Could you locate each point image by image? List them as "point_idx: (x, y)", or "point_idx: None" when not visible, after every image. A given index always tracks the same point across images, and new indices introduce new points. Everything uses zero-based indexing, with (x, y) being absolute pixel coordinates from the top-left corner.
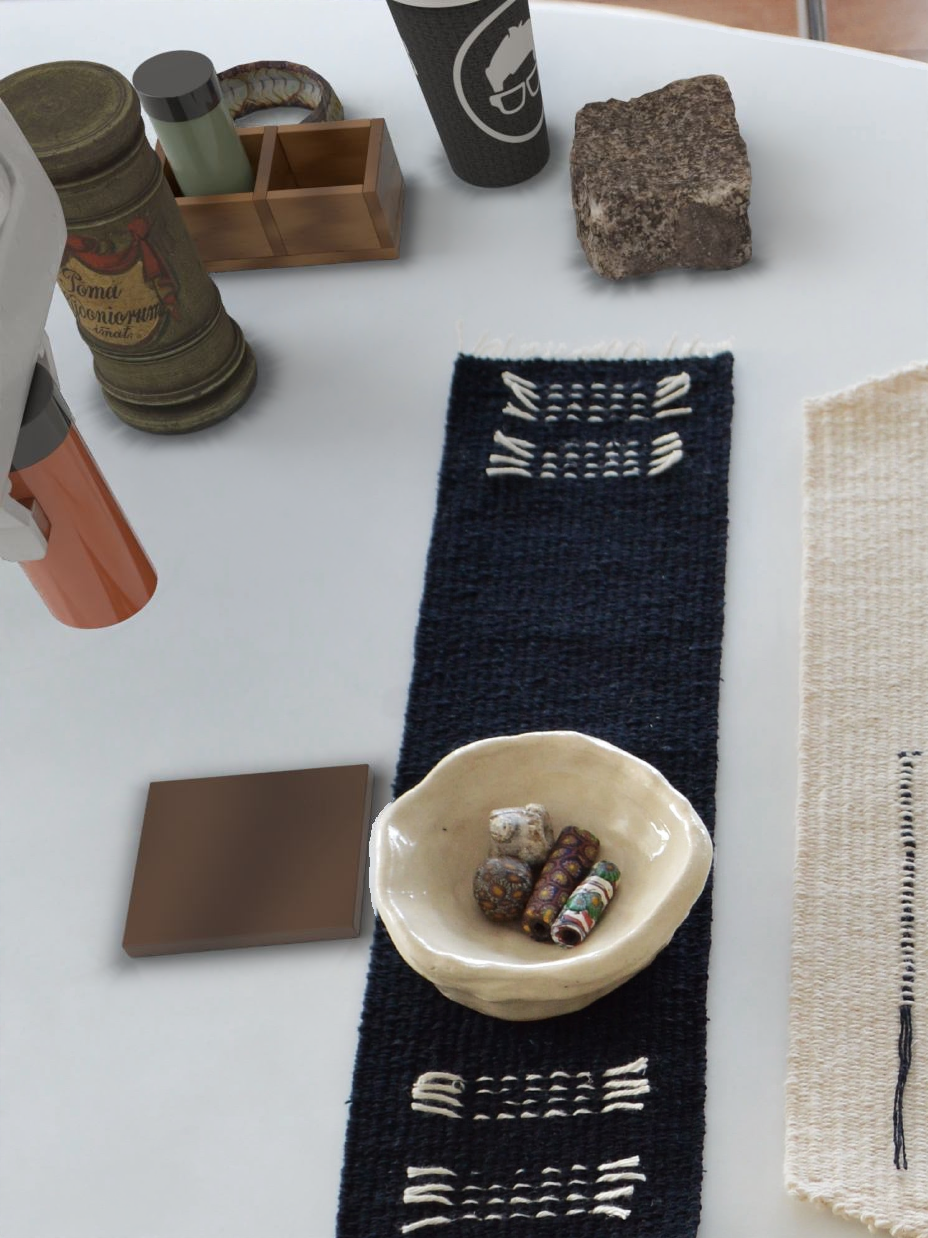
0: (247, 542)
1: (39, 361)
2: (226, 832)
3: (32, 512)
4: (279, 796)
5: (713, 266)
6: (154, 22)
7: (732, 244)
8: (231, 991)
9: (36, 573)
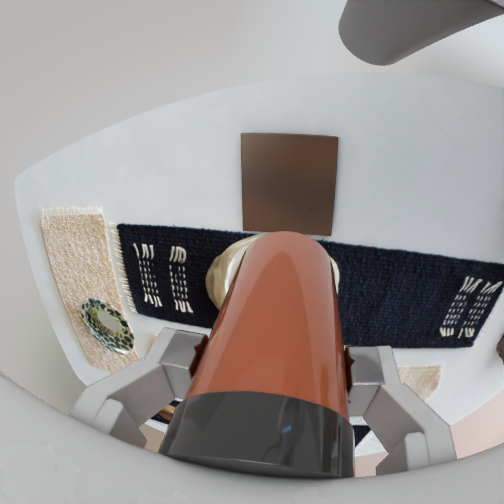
0: (469, 181)
1: (391, 448)
2: (301, 174)
3: (176, 397)
4: (319, 198)
5: (500, 341)
6: None
7: (500, 351)
8: (222, 178)
9: (228, 290)
